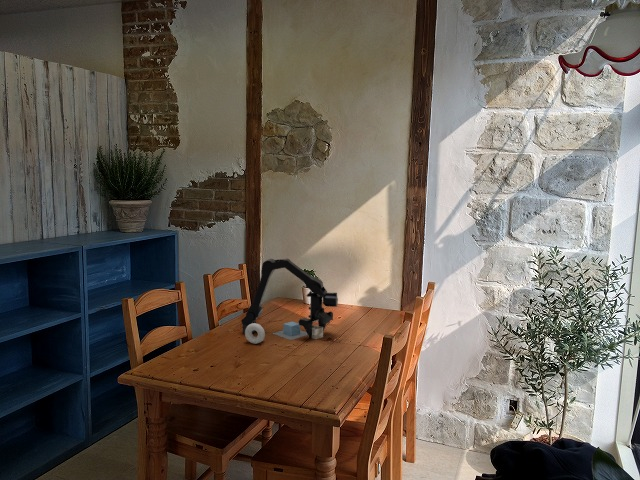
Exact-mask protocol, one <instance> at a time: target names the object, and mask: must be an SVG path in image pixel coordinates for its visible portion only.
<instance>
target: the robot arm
mask: <svg viewBox="0 0 640 480" xmlns="http://www.w3.org/2000/svg"><path fill="white" fill-rule="evenodd" d="M280 269H286V270H287V271H289V272H290V273H291V274H292V275H294V276H295V277H296V278H297V279H299V280H301V281H302V283H304V284H305V286H306V287H307V289H309V292H308V293H307V294H306V297H307V298H310V300H309V301H310V304H309V306H308V310H309V313H310V315H308V318H307V317H304V318H299V320H298V323H299V325H300V327H303V328H304V330H305V332H307V334H308V335H307V336H308V338H309V339H312V338H311V337H312V328H313V327H314V326H315V325H313V324H314V323H315V322H317V323H318V326H320V327H323V332H324V331H325V329H326V327H327V325H328V324H330V322H331V321H333V320H334V312H332V311H327V312H326V311H325V308H324V307H332V308H333V307H334V308H338V303H339V298H338V293H337V292H328V291H327V289H326V288H325V286H324V282H323V280H321V279H319V278H318V277H316V276H314V275H313V276H312V275H310V274H309V273H307V272H306V271H305V270H303V269H302V268H301V267H299V266H298V265H297V264H296V263H294V262H293V261H292V260H290V259H289V258H283V259H282V258H281V259H274V258H269V259H266V260H265V261H264V262H263V263H262V265H261V270H260V271H261V274H260V275H261V277H260V280H259V283H258V285H257V288H256V291H255V294H254V298H253V301H252V303H251V304H250V306H249V307H248V309H247V311H246V313H245V316H243V318H242V319H241V320H240V322H241V324H242V334H244V335H245V330H246V328H247V326H248V325H250V324H252V323H257V319H258V318H260V316H262V315H263V310H264V306H262V302H263V299H264V296H265V293H266V290H267V288H268V284H269V282H270V278H271V277H272V275H273V274H274V273H275V271H276V270H280ZM323 305H324V307H323ZM255 333H257V331H255V330H253V331H252V334H253V335H254V334H255Z"/></svg>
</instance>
